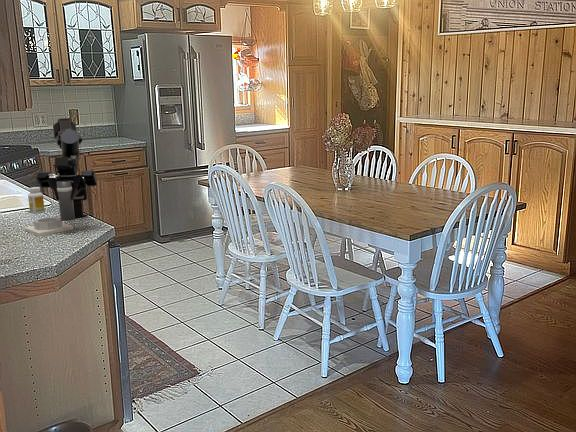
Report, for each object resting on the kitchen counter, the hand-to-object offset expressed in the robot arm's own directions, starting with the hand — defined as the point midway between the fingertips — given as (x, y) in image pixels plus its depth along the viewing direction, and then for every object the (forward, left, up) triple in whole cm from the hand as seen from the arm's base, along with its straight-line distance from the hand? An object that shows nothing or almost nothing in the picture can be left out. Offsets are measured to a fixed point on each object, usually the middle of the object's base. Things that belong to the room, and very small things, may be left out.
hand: (64, 199), depth 195 cm
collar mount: (-10, -2, -12) cm, 16 cm away
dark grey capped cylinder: (-1, +1, -7) cm, 7 cm away
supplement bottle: (-43, +8, -12) cm, 45 cm away
